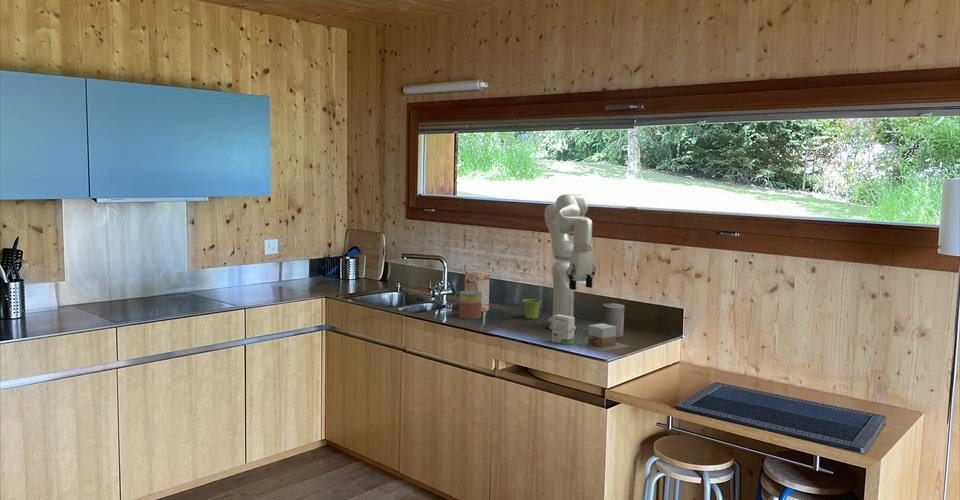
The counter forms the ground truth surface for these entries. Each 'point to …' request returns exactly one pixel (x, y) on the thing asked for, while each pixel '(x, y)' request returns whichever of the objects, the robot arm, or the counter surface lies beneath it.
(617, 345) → the mat
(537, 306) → the plant pot
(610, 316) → the pillar candle
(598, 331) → the top slab
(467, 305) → the canned food
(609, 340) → the bottom slab
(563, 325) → the ink box
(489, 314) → the counter surface
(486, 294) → the coffeecake box
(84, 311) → the counter surface
